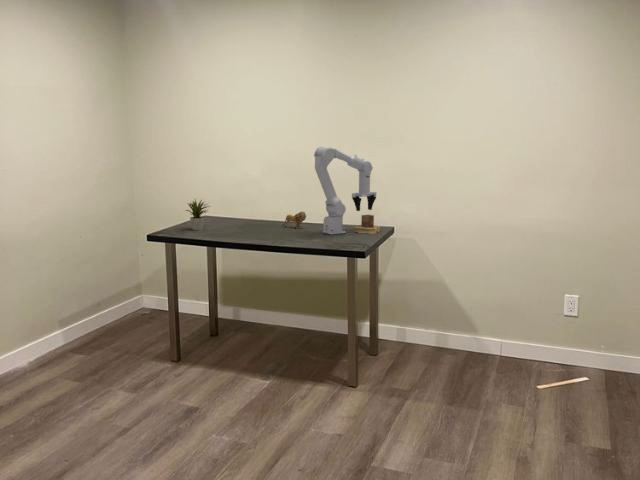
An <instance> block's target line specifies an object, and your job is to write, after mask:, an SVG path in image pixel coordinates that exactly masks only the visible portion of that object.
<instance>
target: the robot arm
mask: <svg viewBox="0 0 640 480" xmlns="http://www.w3.org/2000/svg"><path fill="white" fill-rule="evenodd" d="M313 157H314V170H315V173H316V175H317V178H318V181H319V183H320V185H321V188H322V190H323V193H324V196H325V198H326V200H325V201H324V202H325V203H324V204H325V210H326V212H327V213H328V214H327V216H325V217H324V218H323V224H322V225H323V231H322V233H324V234H328V235H340V234H346V233H347V231H343V229H344V228H343V227H344V225H343V224H344V223H343V222H344V221H343V219H344V215H345V213H346V206H345V203H343V202H342V200H341V199H340V198H339V197H338V195H337V192H336V190H335V187H334V185H333V182H332V179H331V176H330V174H329V171H328V166H329V165H330V164H331V162H332V161H333V160H334V159H338V160H340V161H343V162H346V163H347V165H348V166H349V167H351V168H353V169H355V170H357V171H358V192H353V193H351V198H352V201H353V203H354V206H355V210H356V211H357V212H360V211H361V202H362V197H365V198H366V200H367V210H368V211H372V210H373V207H374V203H375V201H376V199H377V192H376V191H371V175H372V171H373V168H374V167H373V165H372V162H370V161H367V160H366V161H365V159H364V158H360V157H358V155H356V154H354V155H348V154H346V153H344V152H342V151H340V150H338V149H337V148H333V147H329V146H328V147H323V146H319V147H316V149H315V152H314V154H313Z"/></svg>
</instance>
